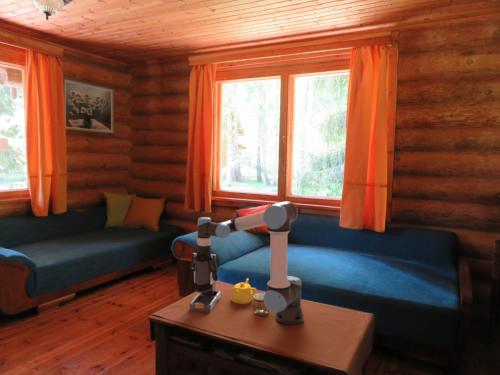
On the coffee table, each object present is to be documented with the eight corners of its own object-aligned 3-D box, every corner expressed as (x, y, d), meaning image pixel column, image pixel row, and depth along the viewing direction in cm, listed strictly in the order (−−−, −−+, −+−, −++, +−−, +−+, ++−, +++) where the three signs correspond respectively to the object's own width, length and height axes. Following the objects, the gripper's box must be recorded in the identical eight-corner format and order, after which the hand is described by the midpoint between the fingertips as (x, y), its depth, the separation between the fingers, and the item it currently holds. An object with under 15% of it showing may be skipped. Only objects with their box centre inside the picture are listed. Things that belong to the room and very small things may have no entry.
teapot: (250, 309, 209) (251, 291, 208) (225, 305, 213) (225, 287, 212) (261, 295, 230) (261, 278, 228) (238, 292, 234) (238, 275, 233)
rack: (220, 297, 225) (220, 280, 224) (209, 313, 203) (209, 294, 202) (202, 295, 228) (202, 278, 226) (189, 311, 206) (189, 292, 204)
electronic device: (207, 286, 216) (207, 253, 214) (213, 289, 212) (213, 256, 210) (193, 290, 210) (194, 256, 208) (199, 293, 206) (199, 259, 204)
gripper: (224, 244, 210) (223, 282, 212) (188, 241, 214) (188, 278, 216) (220, 247, 202) (220, 286, 205) (183, 244, 206) (183, 283, 209)
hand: (203, 282), depth 210 cm, fingers closed on electronic device, 9 cm apart
